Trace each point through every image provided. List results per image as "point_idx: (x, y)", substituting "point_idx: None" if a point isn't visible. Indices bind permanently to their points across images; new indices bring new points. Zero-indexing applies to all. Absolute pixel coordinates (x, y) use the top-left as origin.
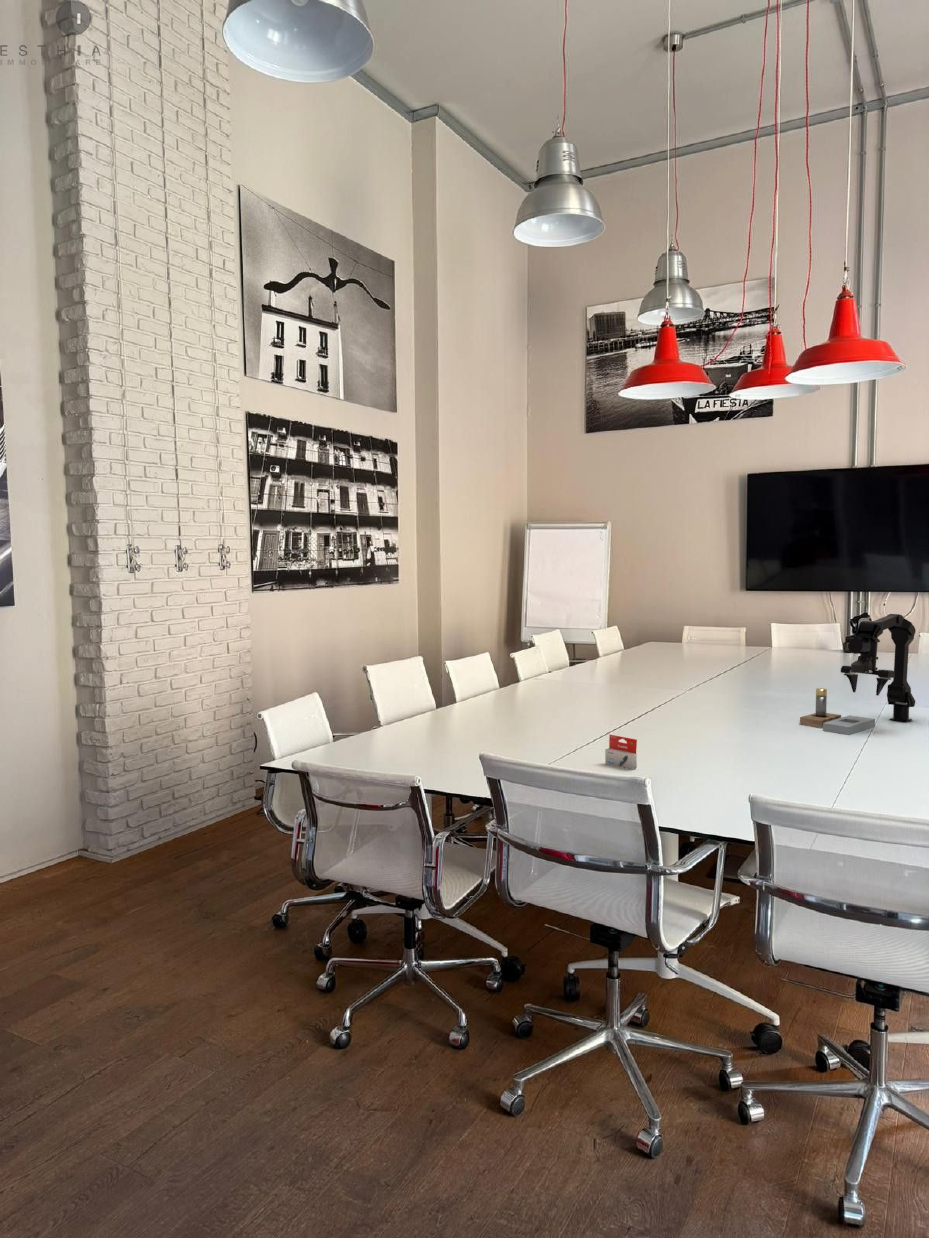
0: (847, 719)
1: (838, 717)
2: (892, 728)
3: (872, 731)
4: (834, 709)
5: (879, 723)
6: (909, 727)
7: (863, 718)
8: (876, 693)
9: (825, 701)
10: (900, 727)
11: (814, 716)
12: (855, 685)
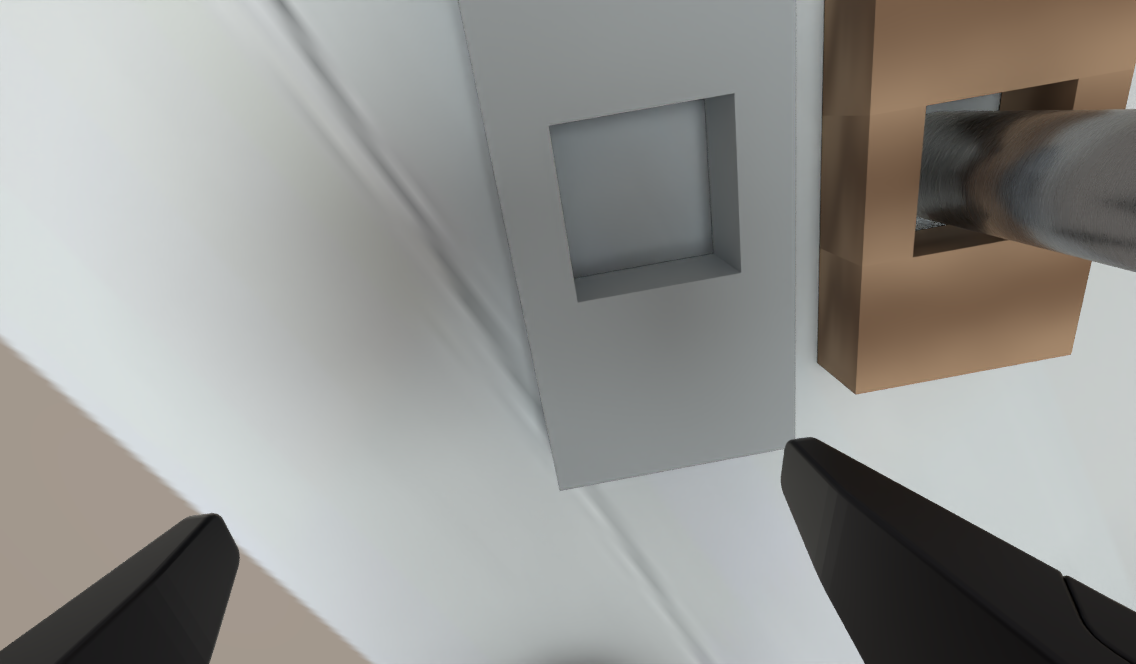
0: (716, 275)
1: (848, 335)
2: (430, 493)
3: (431, 263)
4: None
5: (599, 553)
6: (393, 606)
7: (633, 424)
8: (173, 539)
9: (1128, 196)
10: (425, 561)
11: None
12: (885, 638)
